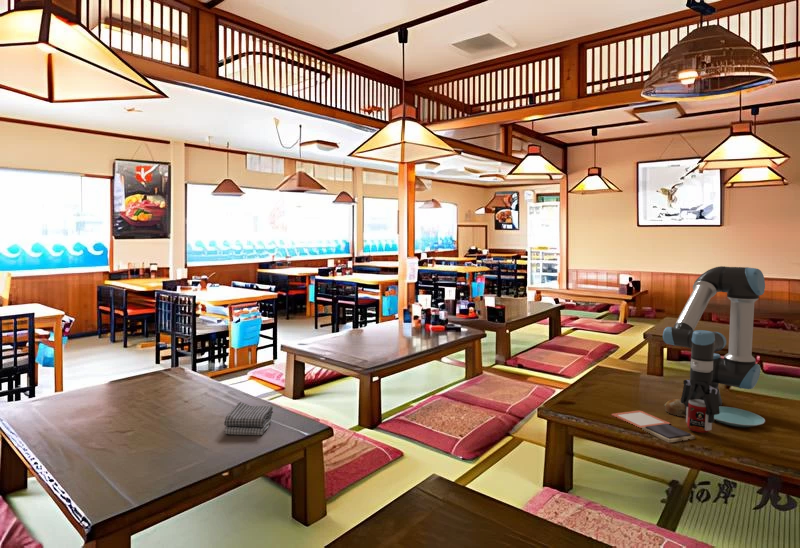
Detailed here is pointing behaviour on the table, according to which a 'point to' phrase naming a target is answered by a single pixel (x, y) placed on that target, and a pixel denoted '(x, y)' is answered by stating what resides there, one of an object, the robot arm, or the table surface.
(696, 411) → the canned food
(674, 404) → the bread roll
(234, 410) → the towel
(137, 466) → the table surface
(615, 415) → the print sheet
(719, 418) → the plate
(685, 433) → the ink pad
